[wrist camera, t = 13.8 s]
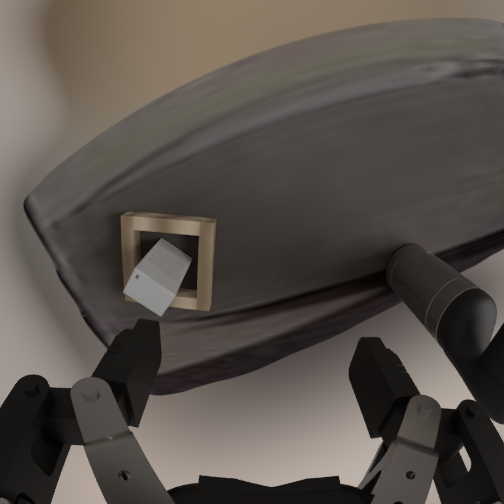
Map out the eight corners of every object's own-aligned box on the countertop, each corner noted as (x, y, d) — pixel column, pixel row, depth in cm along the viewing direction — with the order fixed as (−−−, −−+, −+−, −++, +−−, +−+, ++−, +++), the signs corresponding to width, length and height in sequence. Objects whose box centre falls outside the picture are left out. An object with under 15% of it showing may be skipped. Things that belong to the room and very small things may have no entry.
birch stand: (216, 218, 43) (214, 223, 40) (211, 301, 48) (209, 311, 45) (128, 211, 42) (120, 215, 40) (131, 292, 47) (125, 300, 44)
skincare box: (149, 257, 45) (120, 291, 34) (161, 236, 44) (134, 266, 33) (180, 278, 46) (160, 318, 35) (194, 258, 45) (176, 294, 34)
